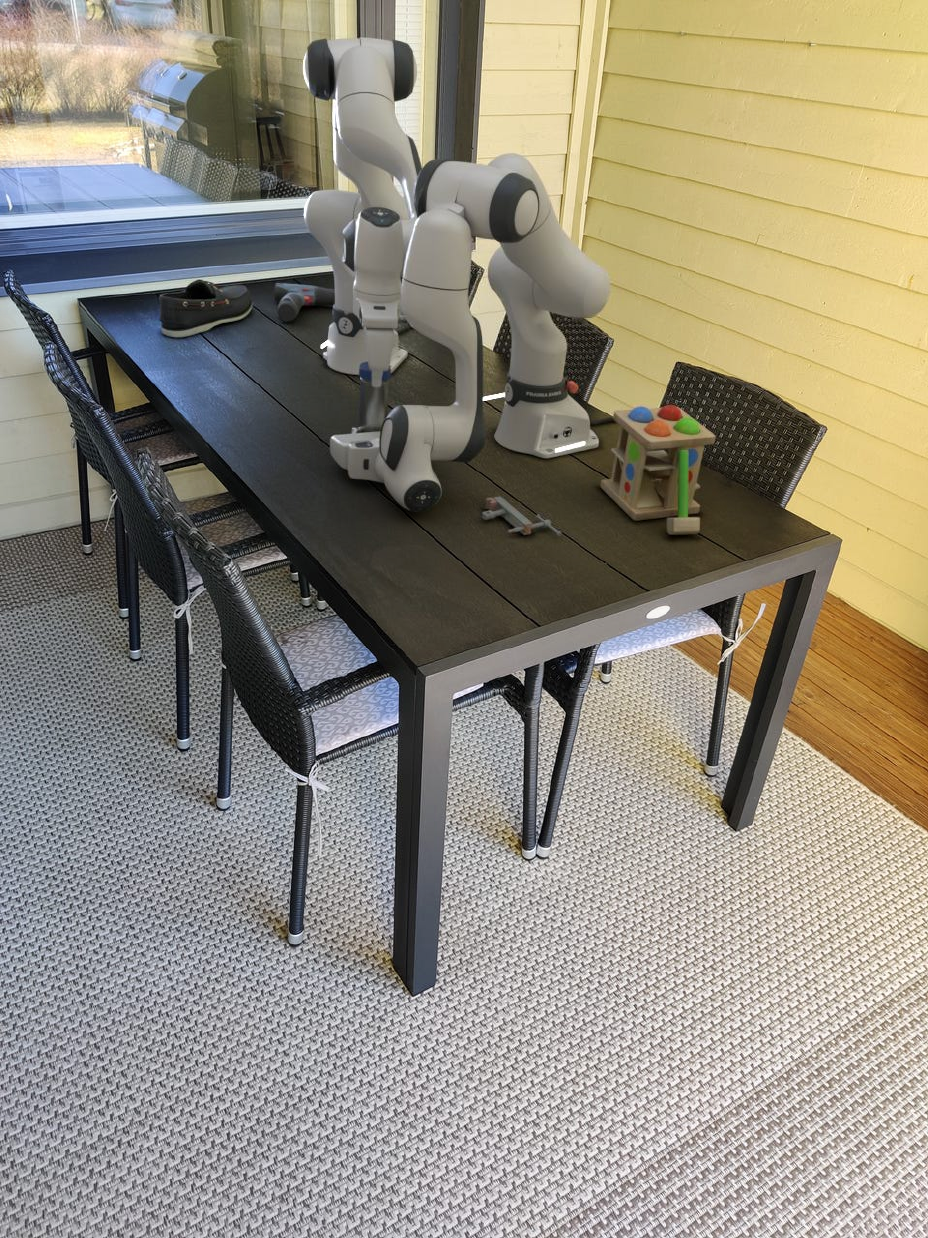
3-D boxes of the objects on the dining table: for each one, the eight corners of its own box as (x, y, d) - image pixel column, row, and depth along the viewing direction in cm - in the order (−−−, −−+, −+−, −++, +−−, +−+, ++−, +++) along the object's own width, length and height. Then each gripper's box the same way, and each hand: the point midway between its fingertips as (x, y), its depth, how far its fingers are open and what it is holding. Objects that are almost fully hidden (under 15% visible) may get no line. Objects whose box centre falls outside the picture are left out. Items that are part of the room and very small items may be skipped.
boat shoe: (271, 314, 265) (269, 274, 259) (179, 339, 241) (175, 296, 235) (235, 305, 270) (233, 266, 265) (143, 329, 246) (138, 287, 241)
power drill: (335, 306, 256) (344, 285, 273) (264, 300, 255) (277, 279, 272) (335, 327, 259) (344, 304, 276) (264, 320, 258) (277, 299, 275)
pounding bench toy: (723, 535, 180) (747, 445, 170) (656, 543, 176) (676, 451, 166) (661, 480, 198) (680, 395, 188) (598, 486, 193) (614, 400, 183)
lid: (394, 373, 189) (395, 364, 188) (384, 384, 185) (384, 374, 183) (365, 368, 191) (365, 358, 189) (354, 378, 186) (354, 368, 185)
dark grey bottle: (385, 461, 195) (388, 376, 185) (357, 459, 194) (359, 373, 184) (386, 450, 199) (389, 366, 189) (359, 448, 199) (361, 363, 189)
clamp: (472, 500, 179) (518, 491, 183) (471, 511, 180) (516, 501, 185) (516, 538, 168) (563, 528, 173) (514, 550, 170) (562, 539, 174)
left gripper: (357, 286, 188) (355, 357, 196) (362, 320, 171) (360, 396, 179) (390, 288, 189) (387, 358, 197) (398, 322, 172) (395, 397, 180)
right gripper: (446, 438, 186) (421, 410, 196) (342, 448, 179) (322, 418, 189) (444, 468, 190) (419, 439, 200) (342, 479, 182) (322, 448, 193)
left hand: (374, 376), depth 188 cm, fingers open, 8 cm apart
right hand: (371, 429), depth 195 cm, fingers closed on dark grey bottle, 5 cm apart
